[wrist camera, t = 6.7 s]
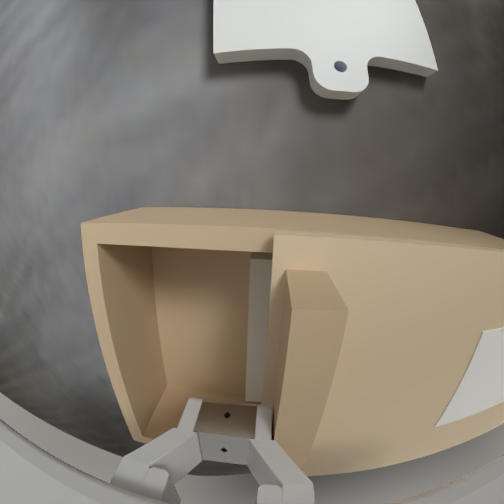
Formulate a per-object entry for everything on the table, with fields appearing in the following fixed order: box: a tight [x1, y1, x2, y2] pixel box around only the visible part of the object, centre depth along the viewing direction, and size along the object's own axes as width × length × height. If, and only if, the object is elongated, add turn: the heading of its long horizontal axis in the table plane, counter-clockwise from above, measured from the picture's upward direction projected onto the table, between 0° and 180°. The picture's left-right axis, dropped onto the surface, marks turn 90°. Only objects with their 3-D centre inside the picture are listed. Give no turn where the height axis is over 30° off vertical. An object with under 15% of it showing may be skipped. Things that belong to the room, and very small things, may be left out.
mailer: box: [81, 207, 504, 444], centre depth 13 cm, size 22×13×6 cm, turn 88°
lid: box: [261, 230, 504, 476], centre depth 8 cm, size 23×13×3 cm, turn 88°
